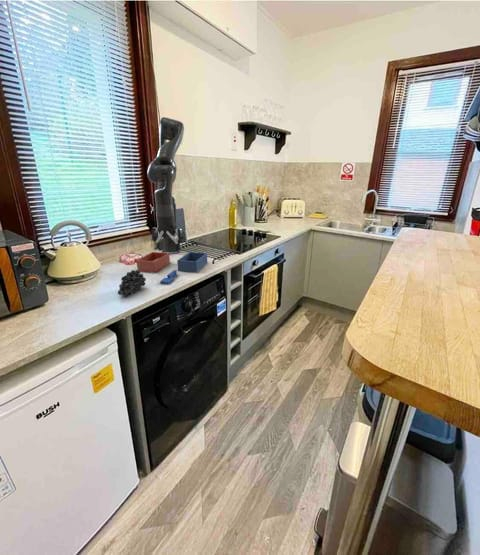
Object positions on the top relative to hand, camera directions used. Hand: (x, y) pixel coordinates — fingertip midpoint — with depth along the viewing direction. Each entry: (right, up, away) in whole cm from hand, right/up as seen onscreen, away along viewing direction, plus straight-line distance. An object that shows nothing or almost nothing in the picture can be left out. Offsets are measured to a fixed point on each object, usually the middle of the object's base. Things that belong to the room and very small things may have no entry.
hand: (169, 250), depth 124 cm
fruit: (-14, -18, -9) cm, 25 cm away
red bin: (-13, -6, +21) cm, 25 cm away
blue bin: (+8, -6, +21) cm, 23 cm away
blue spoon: (0, -13, +4) cm, 14 cm away
